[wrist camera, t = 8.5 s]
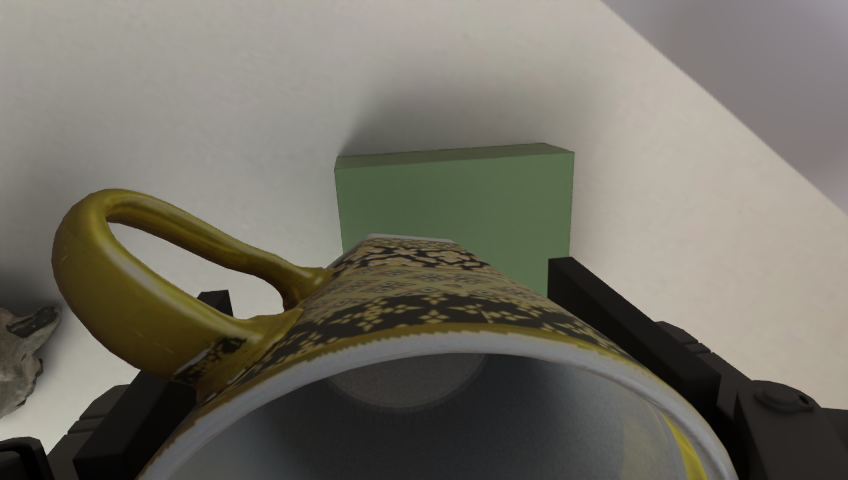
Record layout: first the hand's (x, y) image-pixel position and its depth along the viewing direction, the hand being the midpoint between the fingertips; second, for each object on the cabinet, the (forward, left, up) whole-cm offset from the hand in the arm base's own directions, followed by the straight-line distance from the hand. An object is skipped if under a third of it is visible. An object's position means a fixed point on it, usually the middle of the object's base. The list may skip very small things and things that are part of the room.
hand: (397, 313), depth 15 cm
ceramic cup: (-1, 0, -2) cm, 2 cm away
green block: (+5, -5, -20) cm, 21 cm away
